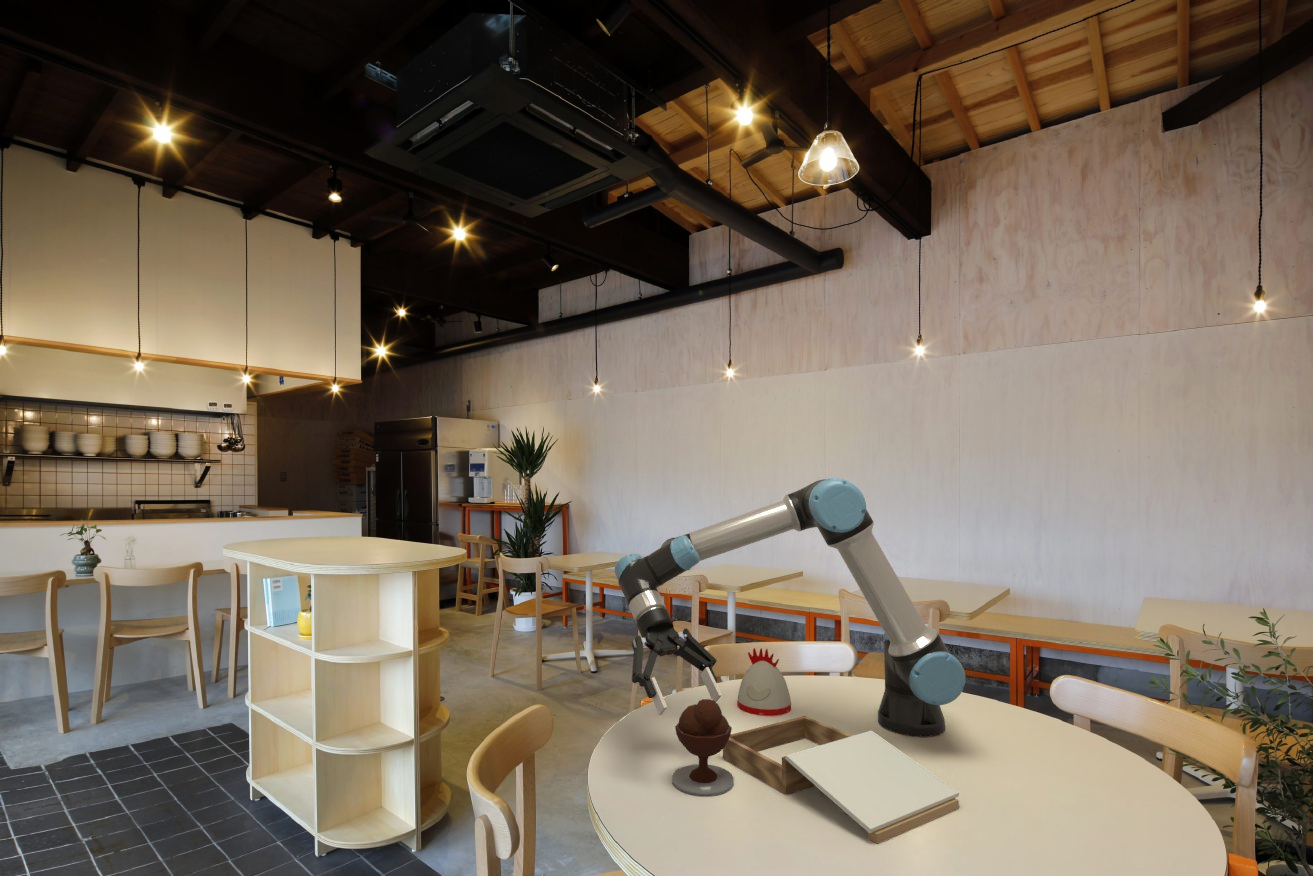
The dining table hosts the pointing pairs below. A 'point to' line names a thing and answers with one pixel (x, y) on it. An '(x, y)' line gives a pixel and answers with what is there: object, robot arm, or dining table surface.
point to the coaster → (702, 789)
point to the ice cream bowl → (703, 735)
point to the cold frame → (748, 742)
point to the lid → (876, 784)
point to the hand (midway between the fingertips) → (691, 705)
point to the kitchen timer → (763, 688)
